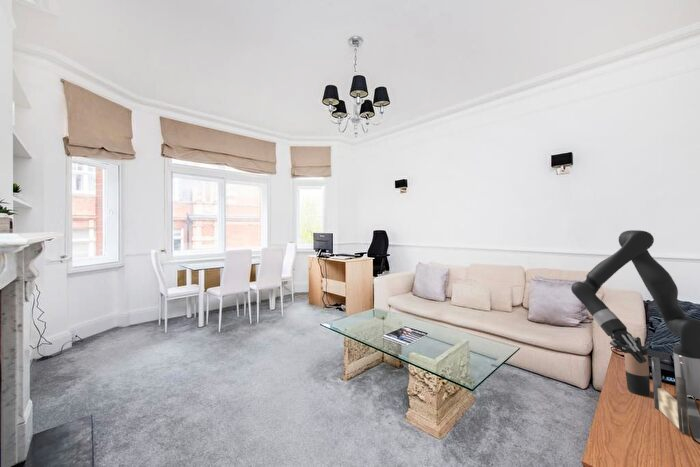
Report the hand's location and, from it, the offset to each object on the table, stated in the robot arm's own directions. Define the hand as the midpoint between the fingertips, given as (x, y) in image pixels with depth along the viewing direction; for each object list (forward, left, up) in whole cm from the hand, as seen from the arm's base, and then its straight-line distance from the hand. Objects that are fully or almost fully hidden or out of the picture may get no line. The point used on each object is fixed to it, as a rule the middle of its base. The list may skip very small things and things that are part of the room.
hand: (643, 362), depth 113 cm
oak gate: (-5, +5, -20) cm, 21 cm away
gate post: (-10, -3, -21) cm, 23 cm away
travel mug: (-16, -15, -21) cm, 31 cm away
